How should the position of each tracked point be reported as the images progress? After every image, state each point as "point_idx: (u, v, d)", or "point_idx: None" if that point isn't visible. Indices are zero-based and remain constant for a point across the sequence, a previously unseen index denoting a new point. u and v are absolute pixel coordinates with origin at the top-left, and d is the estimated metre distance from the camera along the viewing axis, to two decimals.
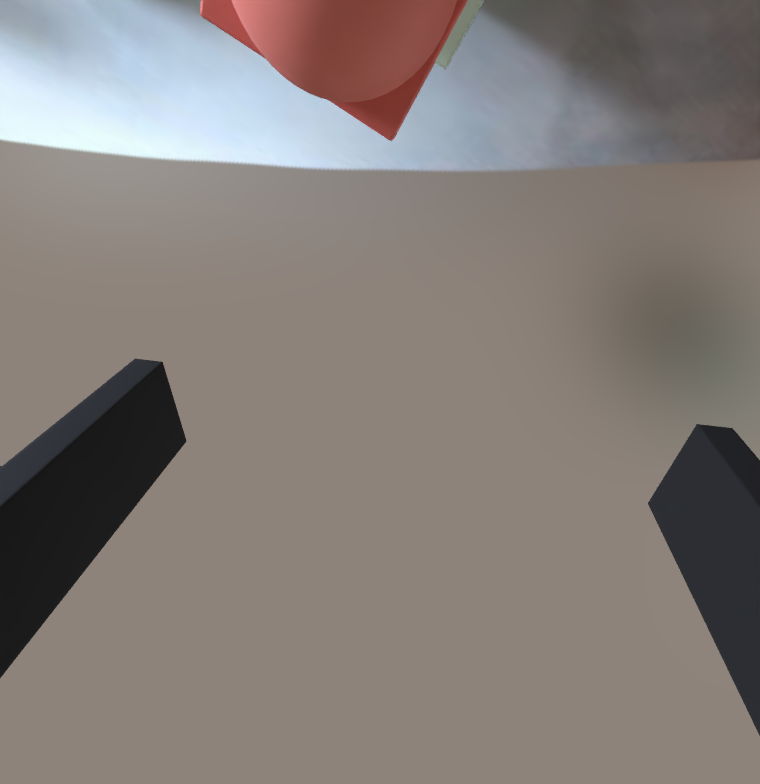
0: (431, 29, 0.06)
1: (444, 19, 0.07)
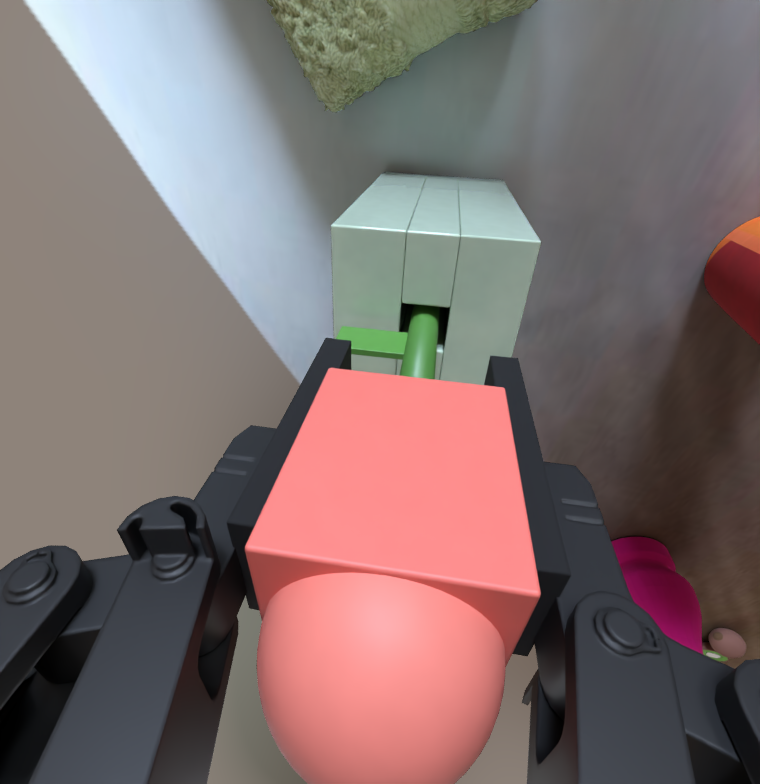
0: None
1: None
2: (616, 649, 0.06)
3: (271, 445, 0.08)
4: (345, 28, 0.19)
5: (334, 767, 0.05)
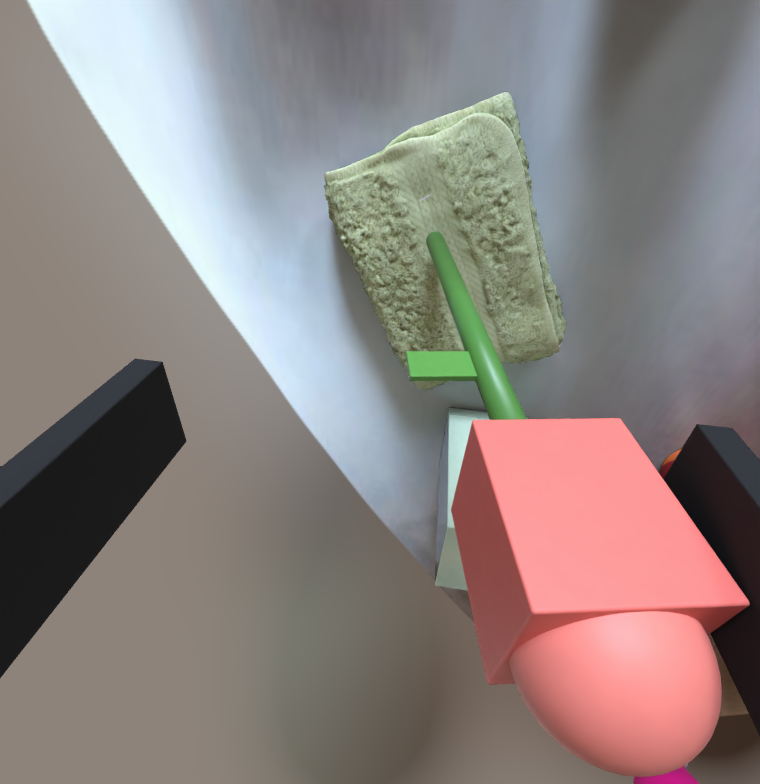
0: None
1: None
2: None
3: None
4: None
5: (646, 756, 0.07)
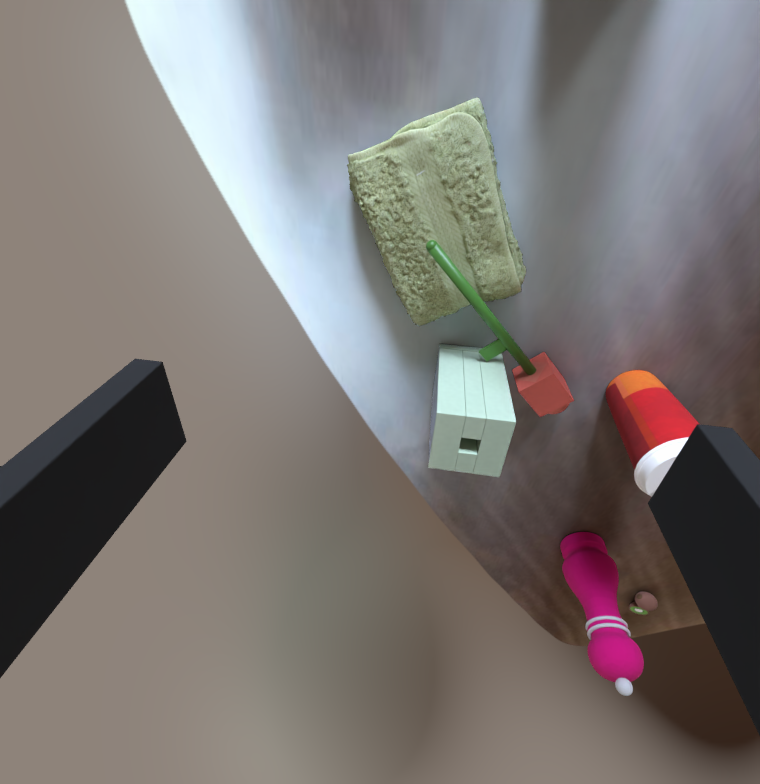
0: None
1: None
2: None
3: None
4: (430, 301, 0.42)
5: None
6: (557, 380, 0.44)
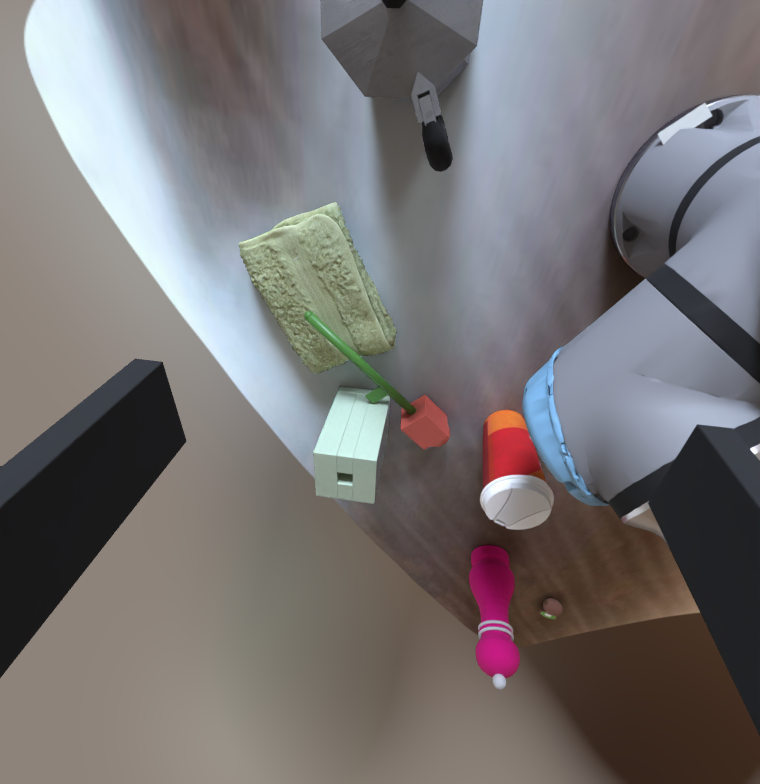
0: None
1: None
2: None
3: None
4: (320, 355, 0.50)
5: None
6: (430, 420, 0.51)
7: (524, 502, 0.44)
